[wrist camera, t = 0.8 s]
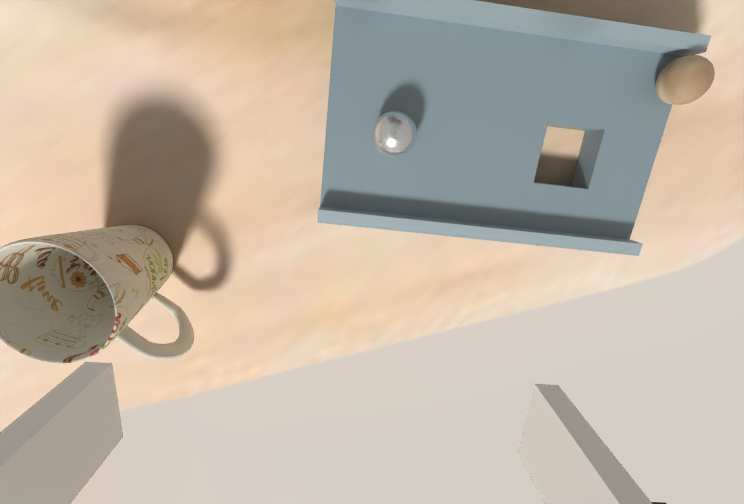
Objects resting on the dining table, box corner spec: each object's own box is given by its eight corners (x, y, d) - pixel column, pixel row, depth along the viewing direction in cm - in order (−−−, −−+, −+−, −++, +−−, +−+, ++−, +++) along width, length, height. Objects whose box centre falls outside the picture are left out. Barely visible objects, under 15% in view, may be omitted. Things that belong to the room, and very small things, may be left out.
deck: (338, 2, 27) (335, -21, 24) (664, 50, 29) (710, 35, 25) (322, 213, 32) (317, 222, 28) (606, 243, 34) (638, 255, 30)
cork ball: (652, 57, 27) (690, 46, 24) (692, 63, 27) (735, 53, 24) (638, 104, 28) (673, 99, 25) (678, 109, 28) (717, 105, 25)
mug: (126, 190, 31) (21, 211, 21) (244, 287, 34) (199, 345, 24) (70, 258, 32) (-52, 307, 23) (187, 346, 35) (124, 422, 25)
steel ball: (373, 110, 27) (375, 105, 24) (416, 115, 28) (423, 111, 24) (369, 154, 28) (370, 155, 25) (410, 159, 28) (416, 160, 25)
